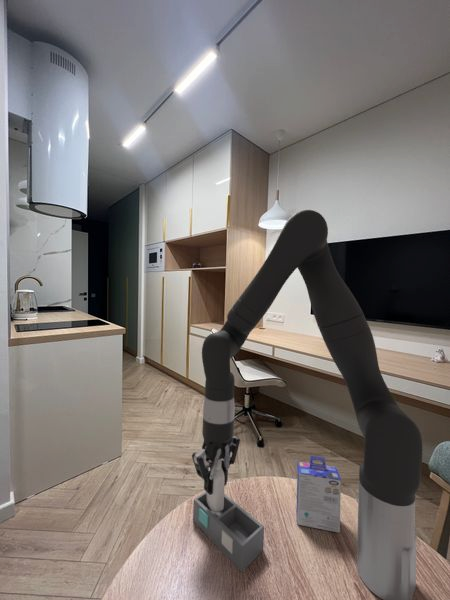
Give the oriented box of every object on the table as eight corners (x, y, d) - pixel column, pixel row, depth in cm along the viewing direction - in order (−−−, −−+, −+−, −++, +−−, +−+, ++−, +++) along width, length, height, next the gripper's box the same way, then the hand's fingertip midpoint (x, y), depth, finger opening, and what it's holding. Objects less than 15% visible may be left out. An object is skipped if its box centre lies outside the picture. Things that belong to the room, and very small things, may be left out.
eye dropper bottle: (224, 495, 63) (226, 446, 63) (223, 514, 57) (225, 460, 57) (207, 494, 63) (209, 445, 63) (204, 512, 57) (206, 459, 58)
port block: (263, 549, 54) (264, 526, 54) (240, 573, 49) (241, 547, 49) (214, 505, 65) (214, 485, 65) (191, 521, 60) (192, 499, 60)
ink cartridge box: (335, 515, 64) (337, 456, 64) (341, 534, 58) (343, 470, 59) (295, 507, 66) (296, 451, 66) (296, 525, 60) (298, 464, 61)
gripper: (205, 430, 53) (202, 514, 53) (250, 412, 63) (247, 482, 62) (185, 418, 58) (181, 493, 58) (228, 403, 68) (226, 467, 68)
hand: (215, 487), depth 60 cm, fingers closed on eye dropper bottle, 3 cm apart
